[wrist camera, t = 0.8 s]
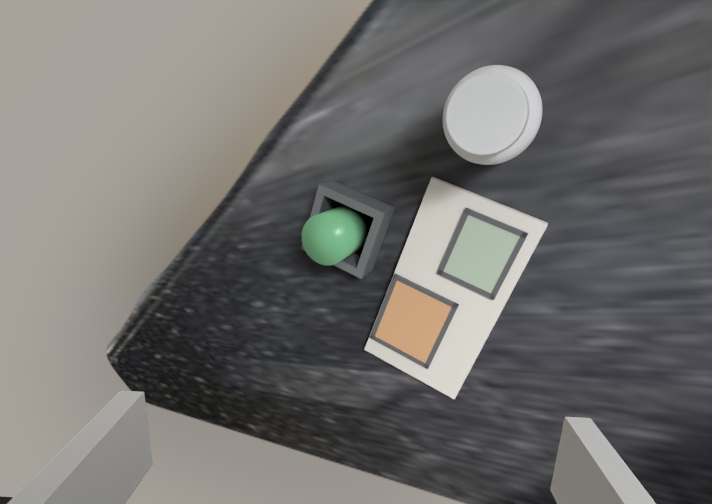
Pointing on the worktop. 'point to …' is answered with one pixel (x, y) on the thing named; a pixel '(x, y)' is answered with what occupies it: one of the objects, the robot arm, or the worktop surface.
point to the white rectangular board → (451, 284)
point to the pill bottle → (492, 114)
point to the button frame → (363, 204)
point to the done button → (333, 235)
